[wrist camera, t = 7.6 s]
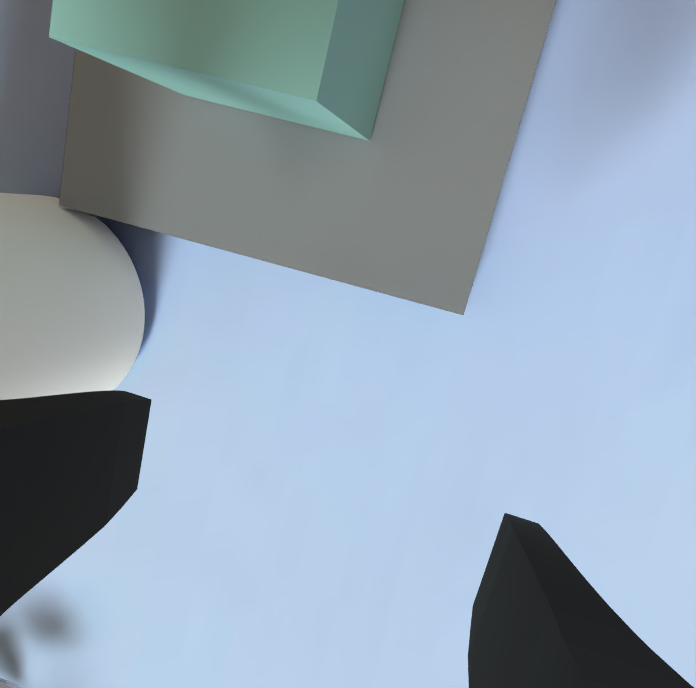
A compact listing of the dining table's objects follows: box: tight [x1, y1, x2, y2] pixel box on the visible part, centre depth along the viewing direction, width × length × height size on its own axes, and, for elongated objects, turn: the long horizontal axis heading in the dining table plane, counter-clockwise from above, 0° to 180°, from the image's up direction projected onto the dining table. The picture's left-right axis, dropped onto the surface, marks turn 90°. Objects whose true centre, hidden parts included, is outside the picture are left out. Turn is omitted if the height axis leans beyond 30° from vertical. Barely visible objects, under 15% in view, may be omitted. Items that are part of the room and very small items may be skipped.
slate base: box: [59, 0, 556, 315], centre depth 18 cm, size 14×14×2 cm
